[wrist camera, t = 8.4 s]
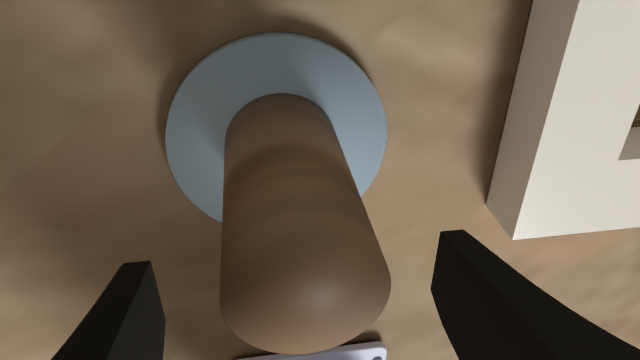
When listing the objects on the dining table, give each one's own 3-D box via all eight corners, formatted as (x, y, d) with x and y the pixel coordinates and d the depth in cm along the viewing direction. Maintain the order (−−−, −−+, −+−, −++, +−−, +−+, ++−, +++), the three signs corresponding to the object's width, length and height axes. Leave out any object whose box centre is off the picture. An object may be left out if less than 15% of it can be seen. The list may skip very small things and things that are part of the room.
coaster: (375, 215, 21) (379, 224, 20) (185, 233, 20) (183, 243, 19) (391, 27, 16) (395, 32, 16) (146, 37, 15) (144, 43, 15)
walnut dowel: (333, 186, 19) (383, 344, 13) (229, 194, 18) (227, 362, 12) (337, 90, 17) (399, 223, 10) (219, 95, 16) (210, 238, 10)
